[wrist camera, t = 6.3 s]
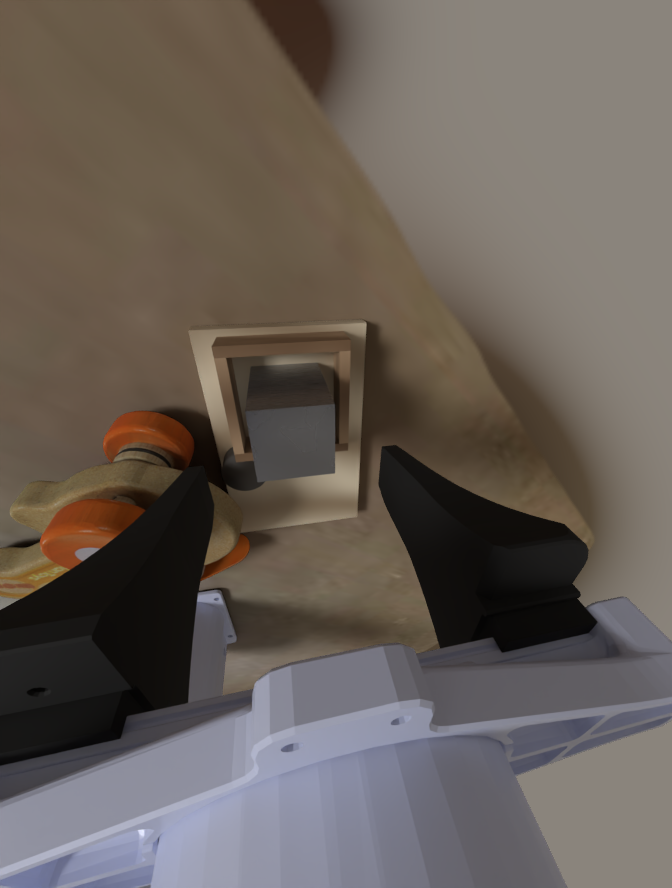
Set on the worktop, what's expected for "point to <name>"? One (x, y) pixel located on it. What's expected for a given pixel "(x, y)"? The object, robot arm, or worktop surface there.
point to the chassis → (225, 390)
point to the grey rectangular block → (290, 421)
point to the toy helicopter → (112, 505)
